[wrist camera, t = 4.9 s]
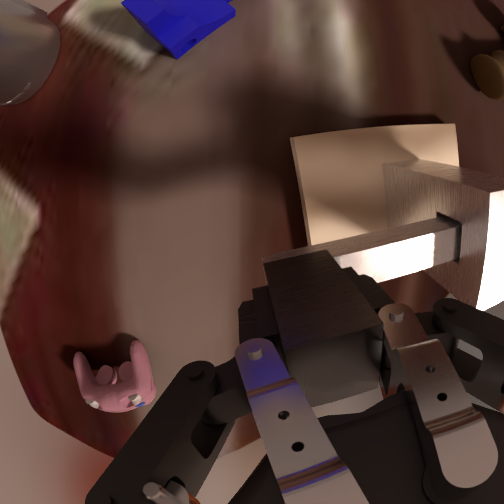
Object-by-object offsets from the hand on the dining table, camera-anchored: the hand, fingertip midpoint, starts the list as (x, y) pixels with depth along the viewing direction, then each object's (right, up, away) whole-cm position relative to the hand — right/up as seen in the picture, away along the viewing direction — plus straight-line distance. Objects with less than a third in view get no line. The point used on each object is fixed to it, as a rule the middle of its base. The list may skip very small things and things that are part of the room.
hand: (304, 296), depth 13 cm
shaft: (+7, +3, +3) cm, 8 cm away
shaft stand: (+10, +7, +11) cm, 16 cm away
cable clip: (-5, +22, +4) cm, 24 cm away
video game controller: (-17, -10, +16) cm, 26 cm away
